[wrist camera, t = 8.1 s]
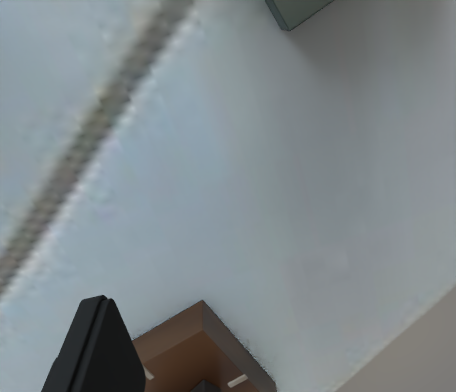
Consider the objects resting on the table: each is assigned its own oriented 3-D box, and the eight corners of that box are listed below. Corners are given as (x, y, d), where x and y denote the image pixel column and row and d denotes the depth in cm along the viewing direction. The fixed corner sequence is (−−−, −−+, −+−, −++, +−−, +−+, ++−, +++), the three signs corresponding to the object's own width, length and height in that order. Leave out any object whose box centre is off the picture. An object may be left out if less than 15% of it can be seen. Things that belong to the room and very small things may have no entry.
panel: (276, 382, 32) (284, 418, 29) (172, 436, 34) (170, 475, 31) (203, 297, 28) (203, 329, 26) (90, 363, 30) (78, 400, 27)
